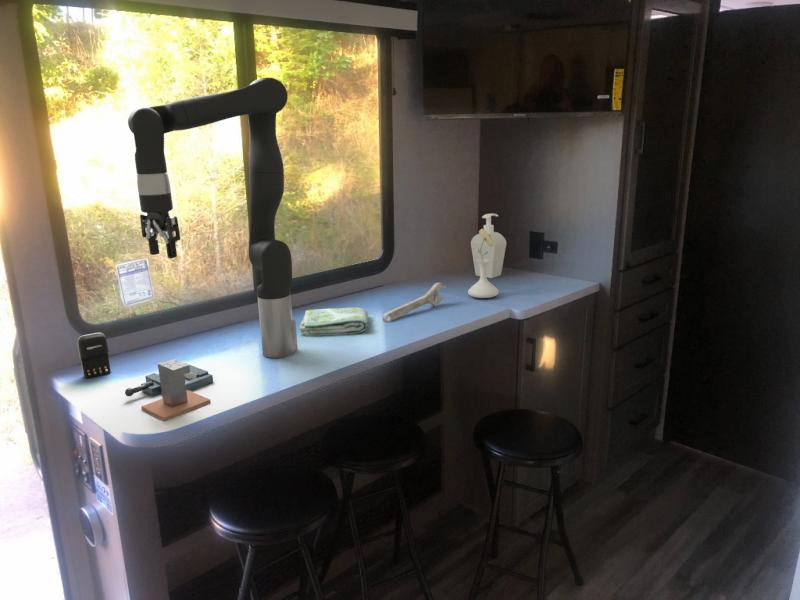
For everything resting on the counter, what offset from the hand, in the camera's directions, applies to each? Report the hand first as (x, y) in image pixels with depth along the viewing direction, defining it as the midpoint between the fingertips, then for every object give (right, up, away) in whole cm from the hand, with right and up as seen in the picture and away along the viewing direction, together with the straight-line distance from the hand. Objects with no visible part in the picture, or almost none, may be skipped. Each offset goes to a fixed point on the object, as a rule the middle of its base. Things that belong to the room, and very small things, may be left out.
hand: (163, 256), depth 160 cm
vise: (+1, -34, -2) cm, 34 cm away
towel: (+39, -20, +44) cm, 62 cm away
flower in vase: (+91, -10, +74) cm, 118 cm away
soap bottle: (+98, -1, +106) cm, 145 cm away
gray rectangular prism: (+8, -36, -13) cm, 39 cm away
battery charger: (-21, -32, +9) cm, 39 cm away
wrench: (+66, -16, +57) cm, 88 cm away
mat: (+8, -36, -12) cm, 39 cm away
